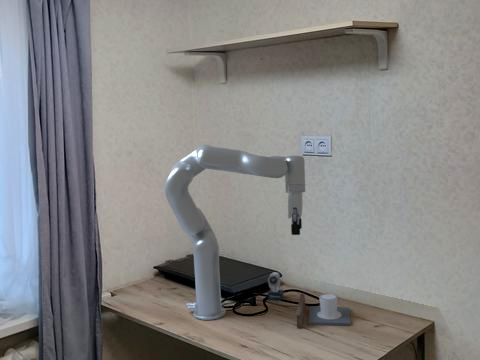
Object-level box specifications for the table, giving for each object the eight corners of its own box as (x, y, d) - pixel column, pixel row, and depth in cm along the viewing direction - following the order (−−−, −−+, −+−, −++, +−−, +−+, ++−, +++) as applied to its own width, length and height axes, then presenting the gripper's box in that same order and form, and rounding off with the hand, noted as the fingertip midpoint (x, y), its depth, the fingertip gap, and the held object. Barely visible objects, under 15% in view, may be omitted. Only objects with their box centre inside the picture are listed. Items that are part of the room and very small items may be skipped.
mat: (308, 324, 195) (308, 321, 195) (310, 309, 210) (310, 306, 209) (350, 325, 192) (350, 323, 192) (349, 310, 207) (349, 307, 207)
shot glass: (324, 309, 205) (324, 292, 204) (341, 313, 201) (340, 295, 200) (316, 315, 200) (315, 297, 199) (333, 319, 196) (332, 300, 195)
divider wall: (296, 328, 192) (296, 315, 191) (300, 305, 214) (300, 293, 213) (301, 328, 192) (301, 315, 191) (305, 305, 213) (304, 293, 213)
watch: (267, 301, 219) (266, 275, 218) (271, 294, 227) (270, 269, 225) (280, 302, 218) (279, 276, 216) (284, 295, 225) (283, 270, 224)
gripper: (287, 184, 215) (288, 226, 218) (283, 191, 198) (284, 237, 201) (306, 184, 214) (307, 226, 216) (303, 191, 197) (305, 237, 199)
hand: (296, 231), depth 209 cm, fingers open, 9 cm apart
